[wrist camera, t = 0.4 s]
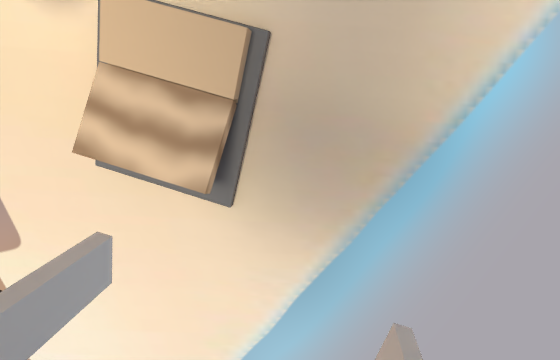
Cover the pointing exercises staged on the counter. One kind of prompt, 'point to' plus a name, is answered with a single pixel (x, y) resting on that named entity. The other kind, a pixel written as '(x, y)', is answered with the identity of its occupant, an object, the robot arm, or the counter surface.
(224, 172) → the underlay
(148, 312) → the counter surface
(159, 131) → the plank
